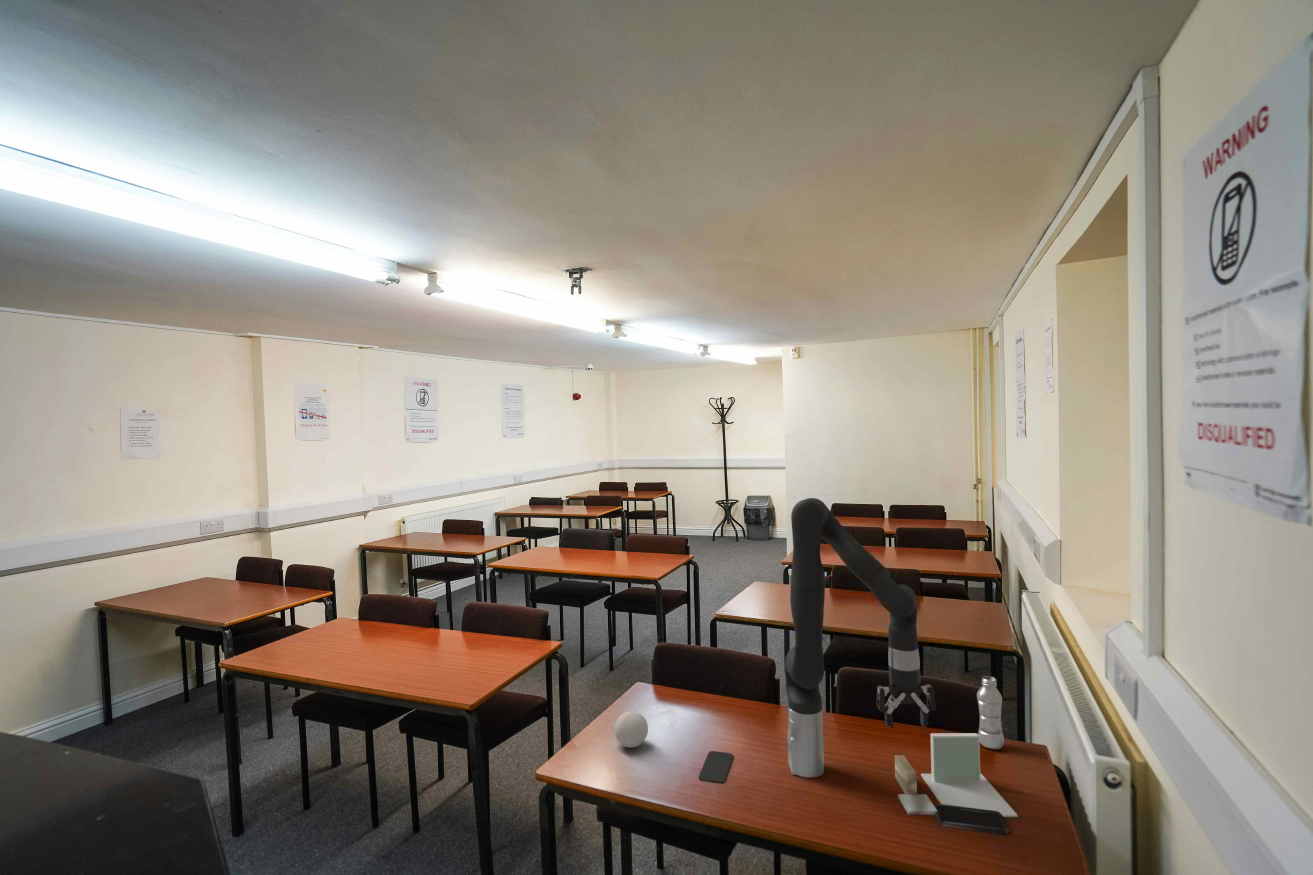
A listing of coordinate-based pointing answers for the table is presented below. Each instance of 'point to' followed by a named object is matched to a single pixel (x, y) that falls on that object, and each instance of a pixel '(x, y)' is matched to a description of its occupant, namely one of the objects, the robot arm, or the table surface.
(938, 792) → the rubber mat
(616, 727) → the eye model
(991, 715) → the plastic bottle
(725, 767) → the phone
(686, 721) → the table surface
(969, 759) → the tile
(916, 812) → the scraper
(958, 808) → the phone
